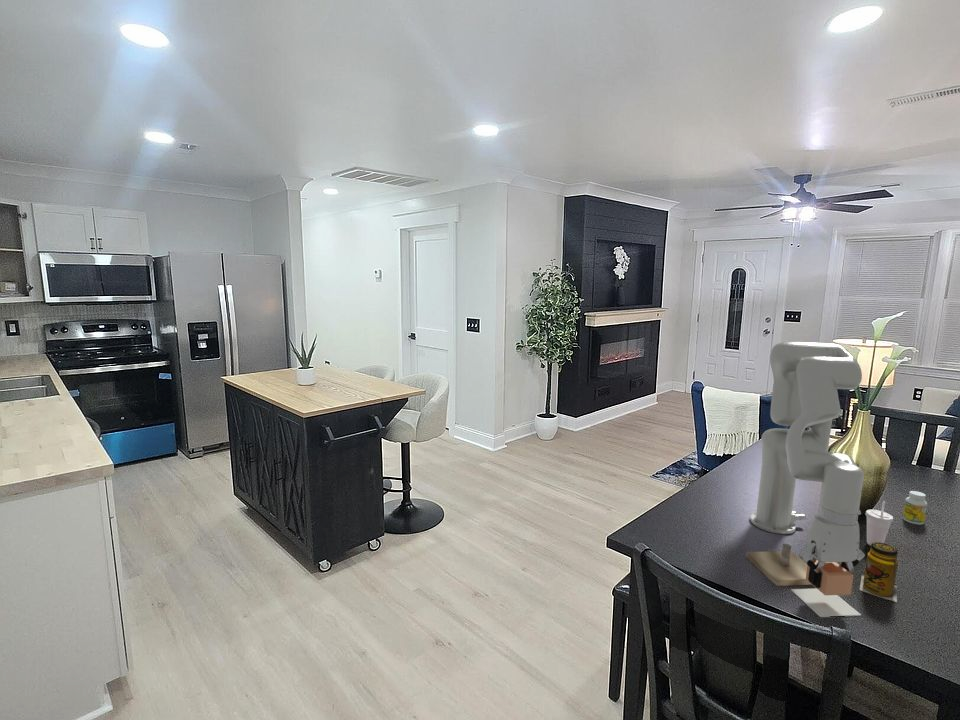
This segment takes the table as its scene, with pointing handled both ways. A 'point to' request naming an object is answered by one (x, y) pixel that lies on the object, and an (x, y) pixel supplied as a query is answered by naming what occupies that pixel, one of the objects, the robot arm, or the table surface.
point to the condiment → (881, 571)
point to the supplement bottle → (915, 508)
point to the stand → (781, 566)
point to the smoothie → (877, 525)
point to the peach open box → (834, 579)
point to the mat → (825, 603)
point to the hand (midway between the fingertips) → (828, 583)
